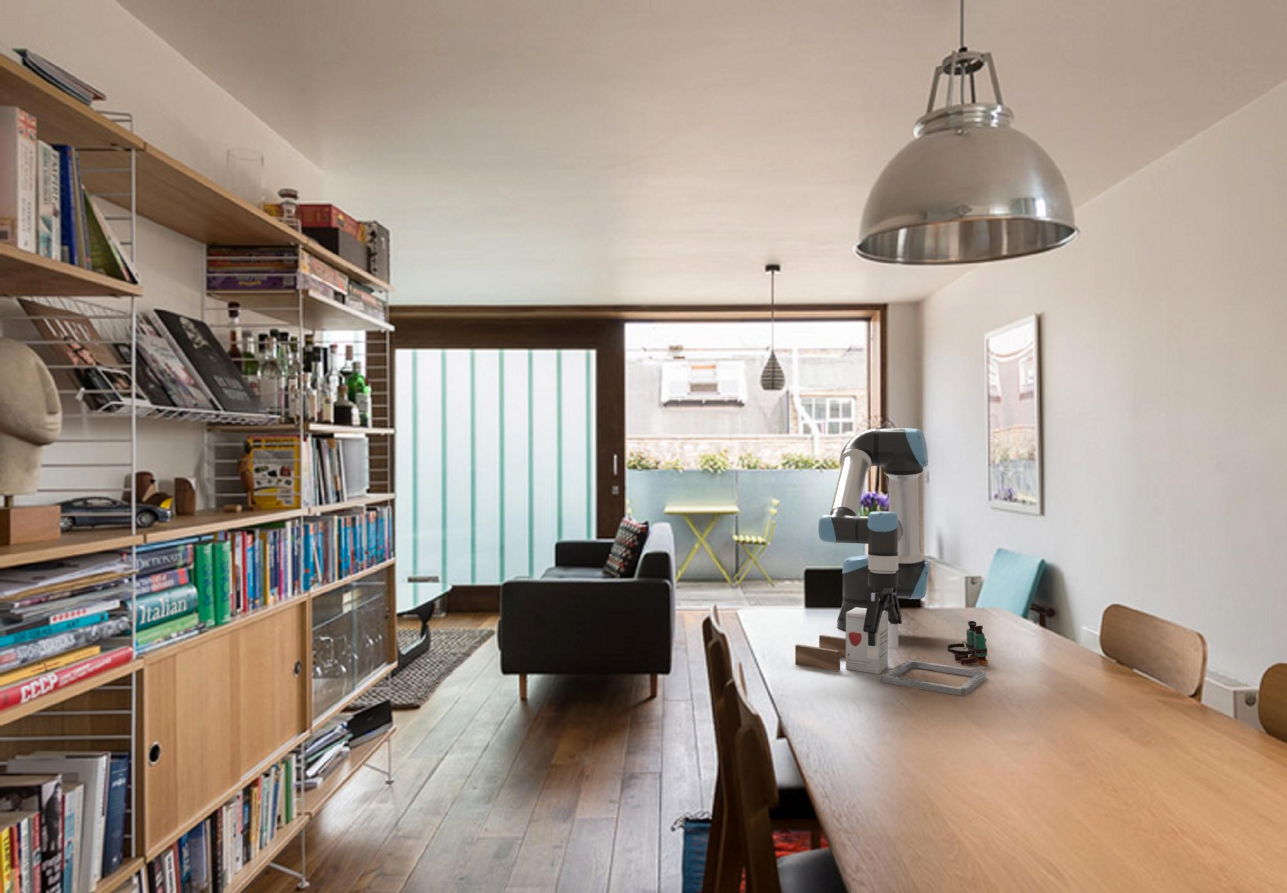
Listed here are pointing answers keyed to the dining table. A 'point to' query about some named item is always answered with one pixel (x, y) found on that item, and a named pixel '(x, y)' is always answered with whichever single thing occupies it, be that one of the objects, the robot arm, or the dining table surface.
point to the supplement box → (865, 642)
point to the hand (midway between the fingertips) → (883, 653)
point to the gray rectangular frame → (964, 689)
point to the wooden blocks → (822, 653)
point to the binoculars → (972, 646)
